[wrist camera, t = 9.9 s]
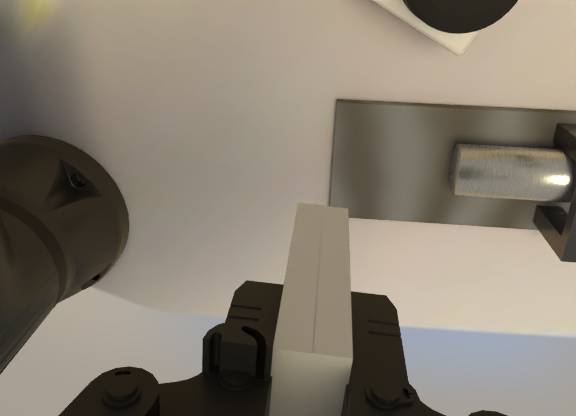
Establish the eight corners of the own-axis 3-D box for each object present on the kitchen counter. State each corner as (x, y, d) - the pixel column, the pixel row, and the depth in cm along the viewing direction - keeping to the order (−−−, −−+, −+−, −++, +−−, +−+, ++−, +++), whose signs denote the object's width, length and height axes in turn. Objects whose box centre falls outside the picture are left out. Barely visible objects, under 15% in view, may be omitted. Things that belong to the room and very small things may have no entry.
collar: (532, 221, 44) (561, 261, 38) (557, 122, 41) (593, 150, 35) (557, 223, 44) (589, 263, 38) (584, 124, 41) (625, 151, 35)
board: (329, 211, 47) (329, 216, 46) (336, 99, 43) (336, 102, 42) (697, 235, 45) (704, 240, 44) (744, 119, 40) (753, 123, 39)
